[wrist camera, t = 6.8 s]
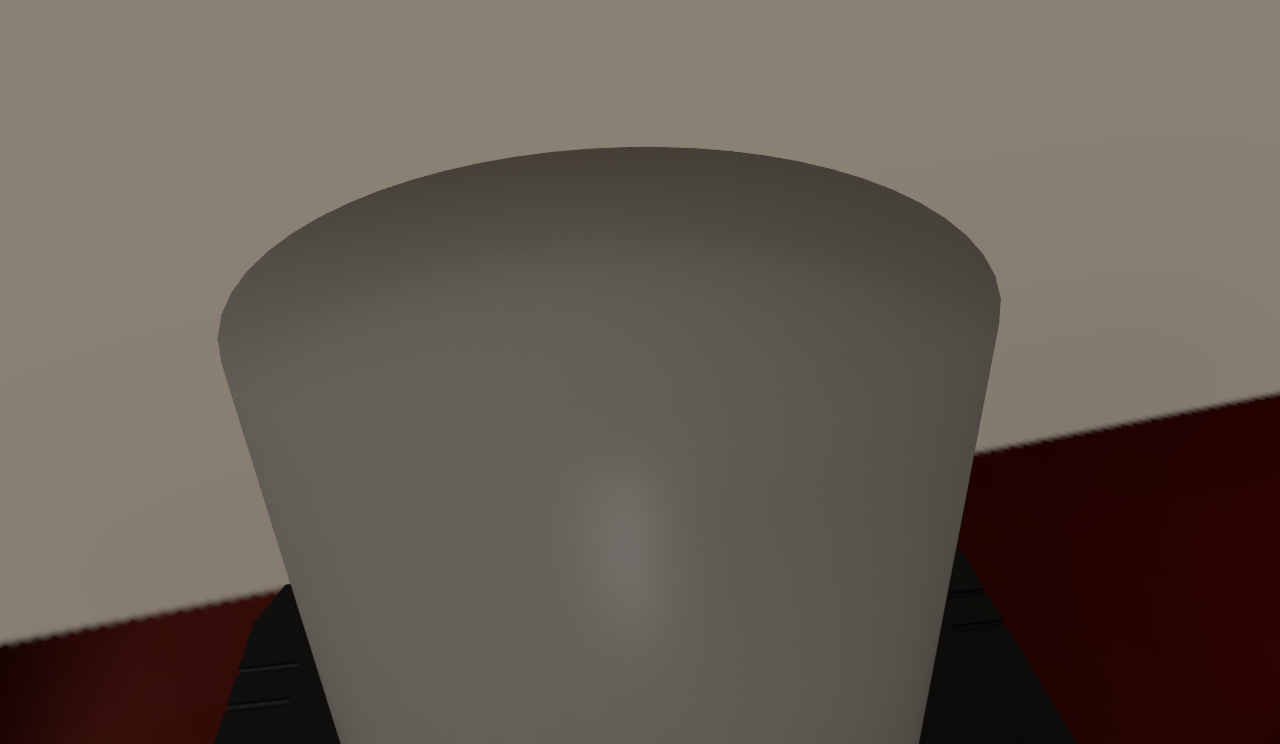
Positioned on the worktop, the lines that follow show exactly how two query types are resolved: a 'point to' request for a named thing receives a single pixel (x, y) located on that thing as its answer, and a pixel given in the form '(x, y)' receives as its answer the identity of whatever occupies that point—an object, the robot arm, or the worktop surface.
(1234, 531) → the worktop surface
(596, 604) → the gray pillar
